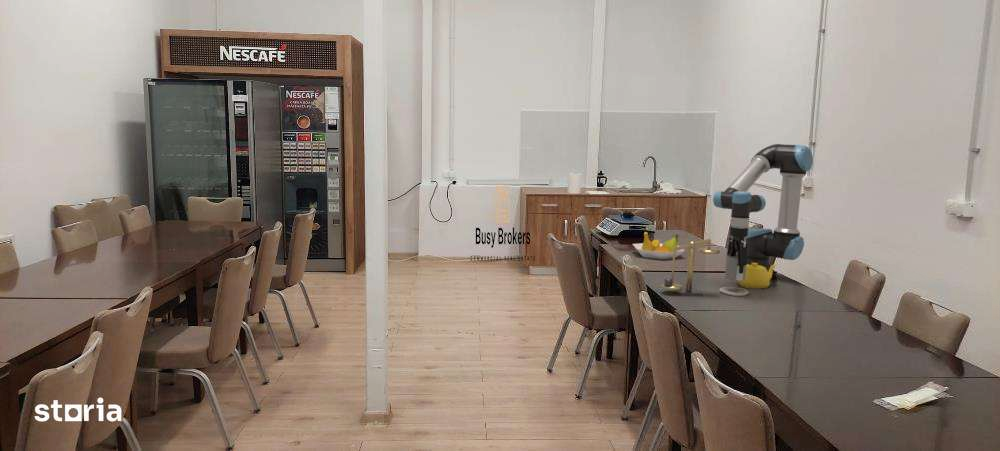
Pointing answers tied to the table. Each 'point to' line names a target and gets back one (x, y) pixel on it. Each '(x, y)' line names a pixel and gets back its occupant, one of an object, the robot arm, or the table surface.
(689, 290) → the balance
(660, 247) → the fruit
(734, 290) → the dish
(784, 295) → the table surface
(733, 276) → the cup
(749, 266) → the teapot
